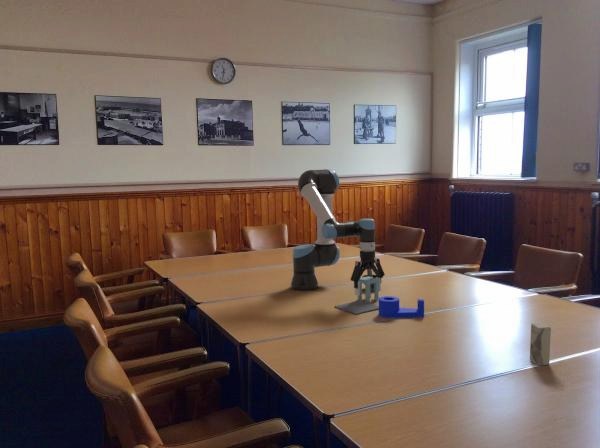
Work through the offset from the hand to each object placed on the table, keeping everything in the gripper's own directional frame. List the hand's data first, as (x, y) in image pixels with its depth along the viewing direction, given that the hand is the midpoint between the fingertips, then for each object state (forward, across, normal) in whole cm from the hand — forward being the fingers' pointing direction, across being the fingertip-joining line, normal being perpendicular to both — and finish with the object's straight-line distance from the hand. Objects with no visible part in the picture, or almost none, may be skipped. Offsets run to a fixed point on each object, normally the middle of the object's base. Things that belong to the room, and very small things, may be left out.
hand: (368, 292), depth 257 cm
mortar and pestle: (+4, +17, +17) cm, 24 cm away
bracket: (+4, -6, -29) cm, 30 cm away
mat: (+4, -13, -8) cm, 16 cm away
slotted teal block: (+4, 0, 0) cm, 4 cm away
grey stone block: (+4, -10, -97) cm, 98 cm away
